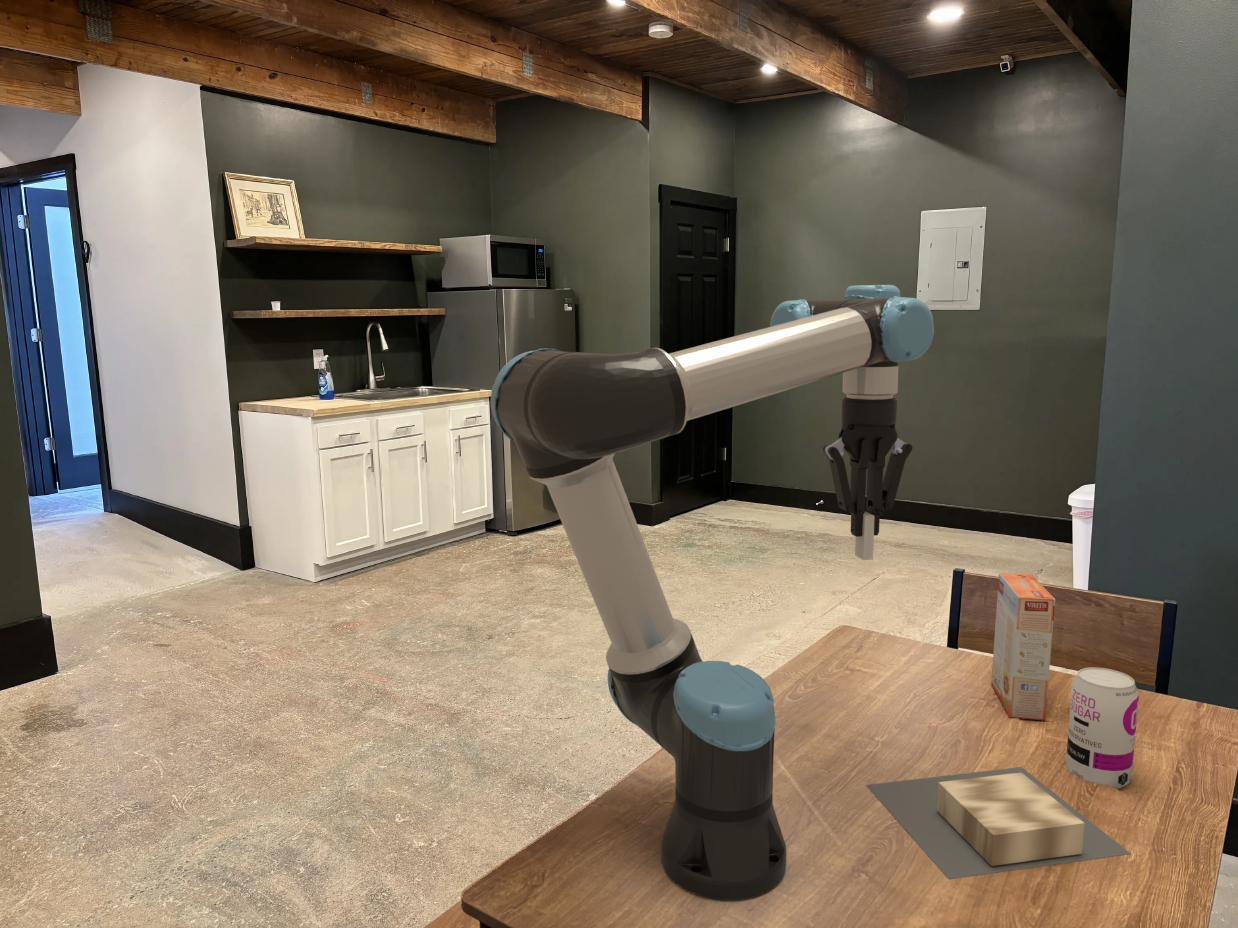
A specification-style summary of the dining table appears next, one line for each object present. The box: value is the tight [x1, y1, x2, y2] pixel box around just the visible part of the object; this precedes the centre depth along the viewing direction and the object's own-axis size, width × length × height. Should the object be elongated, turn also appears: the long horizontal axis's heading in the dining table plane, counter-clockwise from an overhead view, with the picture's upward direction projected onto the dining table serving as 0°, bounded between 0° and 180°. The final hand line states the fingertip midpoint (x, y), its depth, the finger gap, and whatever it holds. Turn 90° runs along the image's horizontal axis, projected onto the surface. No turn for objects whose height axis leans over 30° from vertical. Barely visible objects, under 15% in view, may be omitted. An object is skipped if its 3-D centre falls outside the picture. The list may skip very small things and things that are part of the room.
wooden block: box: [937, 772, 1085, 866], centre depth 110 cm, size 12×4×12 cm
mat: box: [865, 766, 1132, 880], centre depth 114 cm, size 24×21×1 cm
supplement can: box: [1065, 666, 1140, 790], centre depth 124 cm, size 8×8×15 cm
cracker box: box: [990, 572, 1056, 721], centre depth 147 cm, size 14×6×21 cm, turn 168°
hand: (863, 557), depth 128 cm, fingers closed
